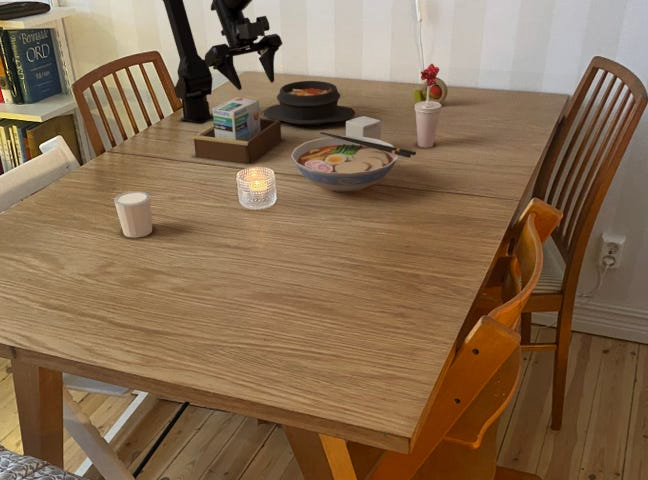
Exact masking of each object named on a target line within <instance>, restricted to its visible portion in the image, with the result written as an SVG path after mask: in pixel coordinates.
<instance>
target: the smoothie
mask: <svg viewBox="0 0 648 480" xmlns="http://www.w3.org/2000/svg"><path fill="white" fill-rule="evenodd" d="M430 89H431V85H430V86H428V87H427V100H425V101H422V102H418V103H416V104H415V103H414V108H413V109H414V111H415V120H416V121H415V122H416V139H417V146H418V147H420V148H423V149H424V148H432V147H433V146H434V142H435V137H436V133H437V127H438V122H439V117H440V113H441V111H442V103H441V104H440V103H438V102H433V101H429V93H430Z"/></svg>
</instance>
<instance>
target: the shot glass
mask: <svg viewBox="0 0 648 480" xmlns="http://www.w3.org/2000/svg"><path fill="white" fill-rule="evenodd" d="M113 200H114V202H113V203H114V206H115V209H116V212H117V215H118V219H119V223H120V226H121V229H122V233H123V235H124V236H125V237H126V238H127V237H128V238H131V239H133V238H142V237H146V236H148V235H149V234H151V233H152V232H153V221H152V219H153V217H152V203H151V195H150V194H149V193H148V192H144V191H127V192H124V193H120V194H119V195H117V196H115V197H114V199H113Z"/></svg>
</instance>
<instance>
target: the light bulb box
mask: <svg viewBox="0 0 648 480" xmlns="http://www.w3.org/2000/svg"><path fill="white" fill-rule="evenodd" d="M211 109H212V117H213V118H212V119H213V124H214V130H215V138H223V139H231V140H239V141H248V140H249V139H251V138H252V137H254V136H255V135H257V134H258V133H259V132H261V128H260V118H261V114H260V111H261V110H260V100H255V99H250V98H244V97H239V96H237V97H235V98H232V99H231V100H228V101H226V102H224V103H221V104H219V105H217V106H215V107H212V108H211Z"/></svg>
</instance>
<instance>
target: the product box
mask: <svg viewBox="0 0 648 480" xmlns="http://www.w3.org/2000/svg"><path fill="white" fill-rule="evenodd" d="M381 127H382V120H380V119H377V118H372V117H369V116H366V115H362V116H358V117H355V118H351V119H348V120H346V121H345V136H361V137H367V138H373V139H379V140H381Z"/></svg>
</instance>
